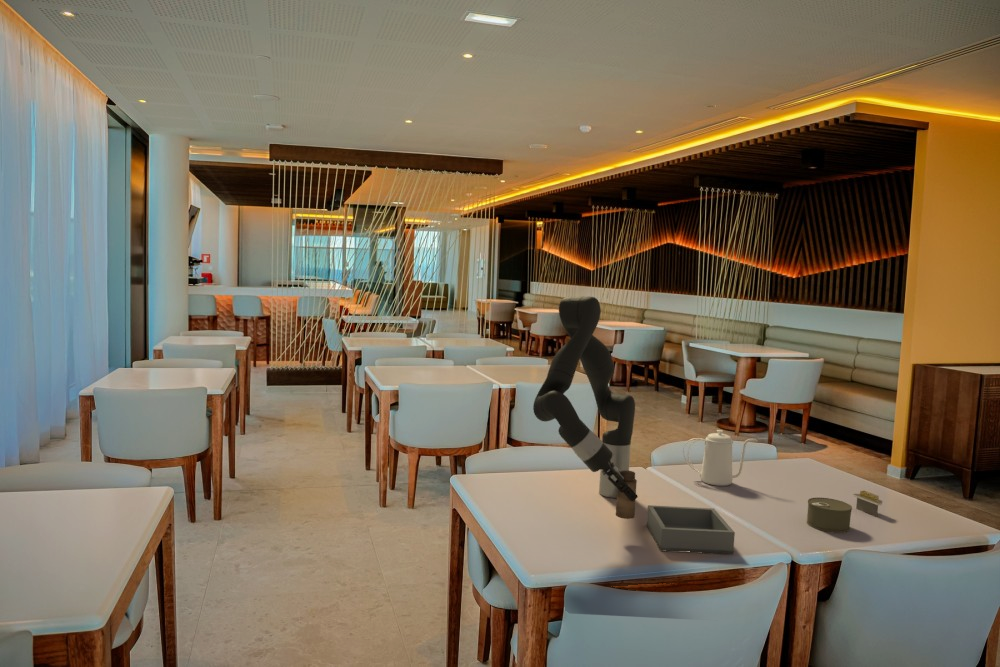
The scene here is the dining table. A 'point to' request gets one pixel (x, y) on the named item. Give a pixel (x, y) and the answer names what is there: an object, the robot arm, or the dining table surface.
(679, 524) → the serving bin
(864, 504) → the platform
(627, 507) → the pepper mill
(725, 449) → the coffeepot
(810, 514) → the can
